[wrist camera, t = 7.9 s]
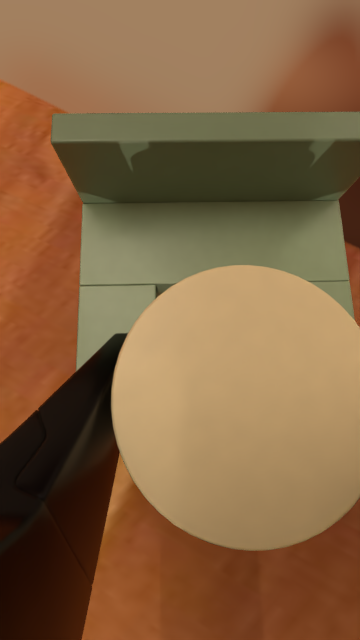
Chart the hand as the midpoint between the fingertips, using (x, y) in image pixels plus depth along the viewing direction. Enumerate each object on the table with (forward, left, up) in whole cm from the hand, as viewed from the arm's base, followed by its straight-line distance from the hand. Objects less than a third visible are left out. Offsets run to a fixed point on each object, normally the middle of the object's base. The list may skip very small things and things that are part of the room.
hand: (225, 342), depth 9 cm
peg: (-1, -1, -8) cm, 8 cm away
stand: (+2, +1, -11) cm, 12 cm away
